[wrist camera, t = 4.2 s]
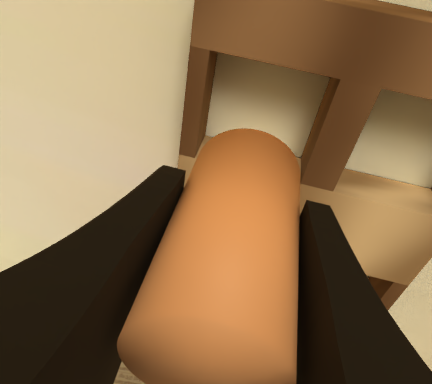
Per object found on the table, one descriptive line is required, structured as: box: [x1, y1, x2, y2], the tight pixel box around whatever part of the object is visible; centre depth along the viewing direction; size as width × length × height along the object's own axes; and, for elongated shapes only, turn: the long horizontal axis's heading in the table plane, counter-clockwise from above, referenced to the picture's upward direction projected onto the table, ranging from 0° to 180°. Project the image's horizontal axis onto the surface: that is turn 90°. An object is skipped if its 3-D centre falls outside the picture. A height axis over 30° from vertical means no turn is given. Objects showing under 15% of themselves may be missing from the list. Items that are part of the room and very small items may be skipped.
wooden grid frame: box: [178, 0, 432, 310], centre depth 17 cm, size 12×18×2 cm, turn 171°
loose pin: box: [117, 129, 300, 384], centre depth 9 cm, size 3×3×6 cm
